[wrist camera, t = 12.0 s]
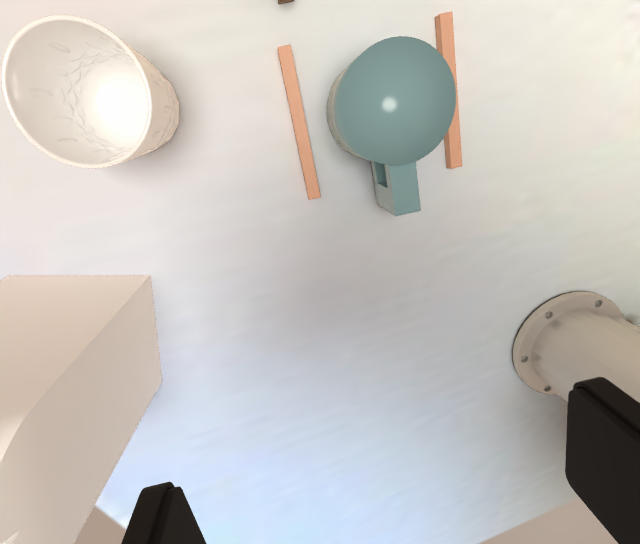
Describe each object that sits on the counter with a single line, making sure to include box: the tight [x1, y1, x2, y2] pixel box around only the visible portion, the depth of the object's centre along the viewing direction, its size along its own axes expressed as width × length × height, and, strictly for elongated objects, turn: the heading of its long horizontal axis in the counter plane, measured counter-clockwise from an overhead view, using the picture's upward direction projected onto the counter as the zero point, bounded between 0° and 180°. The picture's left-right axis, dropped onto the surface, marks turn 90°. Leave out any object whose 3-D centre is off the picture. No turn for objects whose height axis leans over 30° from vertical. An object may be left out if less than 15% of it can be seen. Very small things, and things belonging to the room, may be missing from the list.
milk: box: [0, 275, 162, 544], centre depth 25 cm, size 12×12×26 cm
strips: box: [278, 12, 462, 200], centre depth 33 cm, size 14×12×1 cm
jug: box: [327, 36, 456, 216], centre depth 30 cm, size 8×12×8 cm
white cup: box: [1, 15, 179, 169], centre depth 26 cm, size 8×8×10 cm
